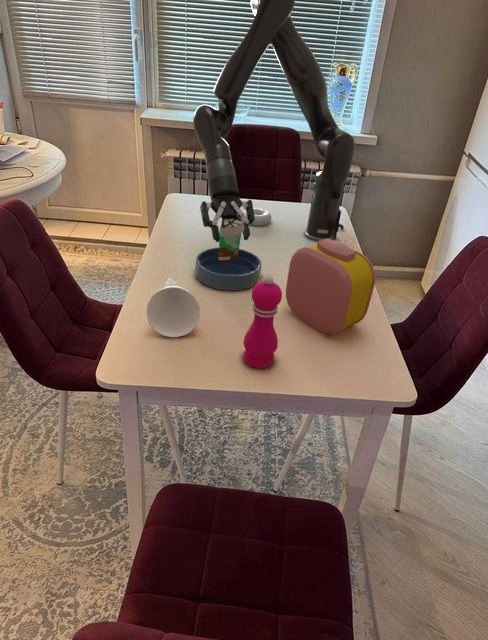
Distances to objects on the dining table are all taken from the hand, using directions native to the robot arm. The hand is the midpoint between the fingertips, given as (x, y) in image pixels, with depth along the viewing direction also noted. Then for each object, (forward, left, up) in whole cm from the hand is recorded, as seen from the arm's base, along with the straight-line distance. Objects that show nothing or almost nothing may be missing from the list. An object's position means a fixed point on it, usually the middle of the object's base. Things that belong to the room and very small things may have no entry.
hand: (232, 240), depth 128 cm
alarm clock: (-16, +25, -11) cm, 31 cm away
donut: (-22, -38, -11) cm, 46 cm away
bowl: (0, -1, -11) cm, 11 cm away
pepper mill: (+5, +37, -11) cm, 39 cm away
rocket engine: (+18, +16, -11) cm, 27 cm away
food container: (0, -1, -5) cm, 5 cm away
